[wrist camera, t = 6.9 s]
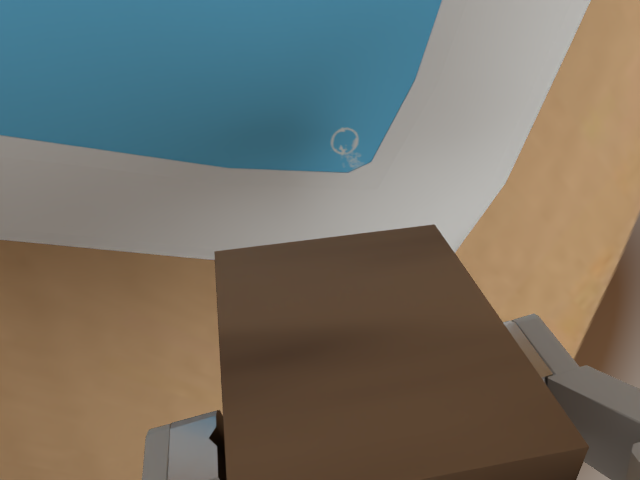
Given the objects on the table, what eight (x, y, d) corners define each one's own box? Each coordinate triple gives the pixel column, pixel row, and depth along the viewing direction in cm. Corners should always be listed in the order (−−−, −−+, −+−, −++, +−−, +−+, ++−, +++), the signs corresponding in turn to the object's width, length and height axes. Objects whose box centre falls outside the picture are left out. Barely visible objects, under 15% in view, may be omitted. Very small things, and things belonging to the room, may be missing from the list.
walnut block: (417, 375, 15) (523, 610, 10) (238, 405, 15) (260, 673, 10) (434, 224, 13) (589, 447, 8) (214, 251, 12) (228, 516, 7)
